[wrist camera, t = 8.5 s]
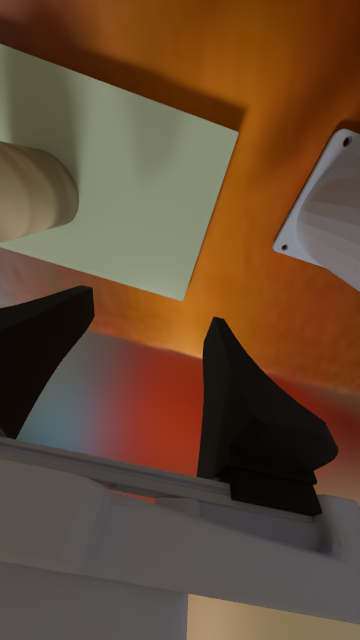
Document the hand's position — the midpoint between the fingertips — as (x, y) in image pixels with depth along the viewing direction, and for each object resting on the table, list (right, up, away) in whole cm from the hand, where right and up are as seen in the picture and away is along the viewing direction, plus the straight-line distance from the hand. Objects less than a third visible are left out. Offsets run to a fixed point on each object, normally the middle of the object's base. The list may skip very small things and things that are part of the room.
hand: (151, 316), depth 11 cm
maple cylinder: (-9, +10, +4) cm, 14 cm away
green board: (-7, +11, +5) cm, 14 cm away
